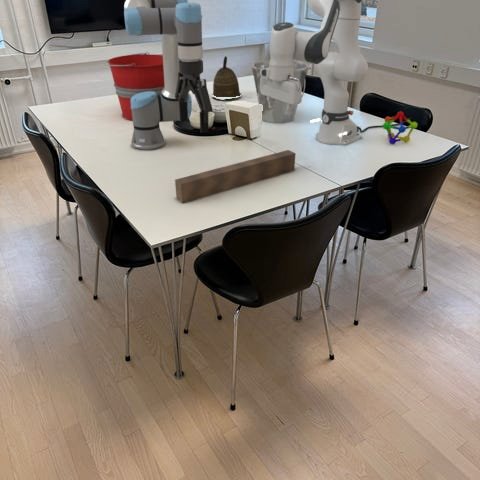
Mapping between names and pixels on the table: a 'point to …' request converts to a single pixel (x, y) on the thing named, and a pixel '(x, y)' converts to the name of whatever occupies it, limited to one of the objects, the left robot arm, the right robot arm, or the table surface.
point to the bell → (225, 82)
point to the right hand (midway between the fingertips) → (279, 111)
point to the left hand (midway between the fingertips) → (194, 126)
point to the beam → (233, 176)
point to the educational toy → (398, 128)
